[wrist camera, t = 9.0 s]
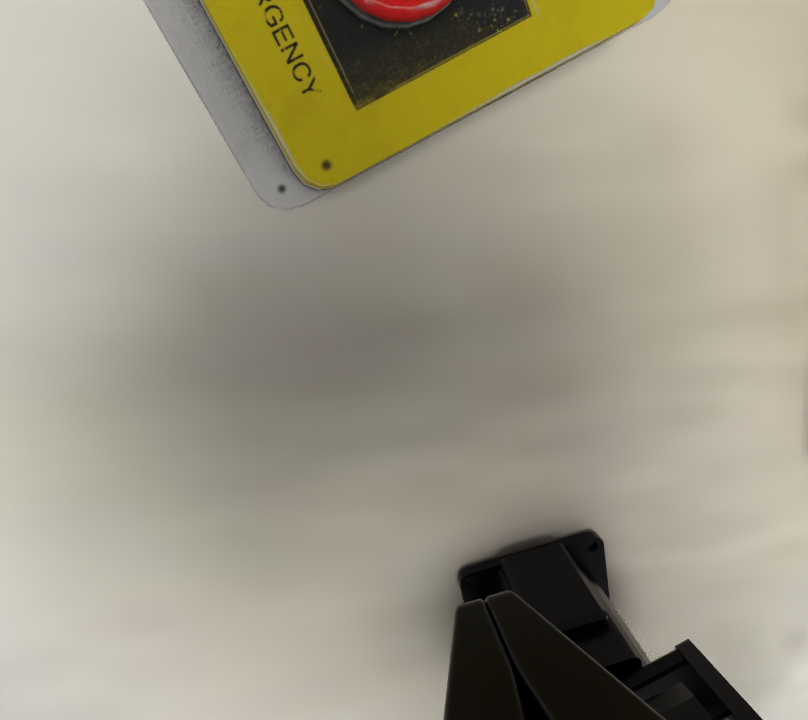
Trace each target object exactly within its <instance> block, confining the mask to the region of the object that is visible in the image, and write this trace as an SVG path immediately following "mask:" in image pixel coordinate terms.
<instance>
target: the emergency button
mask: <svg viewBox="0 0 808 720" xmlns="http://www.w3.org/2000/svg"><path fill="white" fill-rule="evenodd" d="M144 2H145V4H146V6H147V7H148V9H149V11H150V12H151V14H152V16H153V18H154V19H155V21H156V23H157V24H158V26H159V28H160V30H161V31H162V33H163V35H164V36H165V38H166V40H167V42H168V43H169V45H170V47H171V48H172V50H173V52H174V54H175V55H176V57H177V59H178V60H179V62H180V64H181V66H182V67H183V69H184V71H185V72H186V74H187V76H188V78H189V79H190V81H191V83H192V84H193V86H194V88H195V90H196V91H197V93H198V95H199V97H200V98H201V100H202V102H203V103H204V105H205V107H206V109H207V110H208V112H209V114H210V115H211V117H212V119H213V121H214V122H215V124H216V126H217V127H218V129H219V131H220V133H221V134H222V136H223V138H224V139H225V141H226V143H227V145H228V146H229V148H230V150H231V151H232V153H233V155H234V157H235V158H236V160H237V162H238V163H239V165H240V167H241V169H242V170H243V172H244V174H245V175H246V177H247V179H248V181H249V182H250V184H251V186H252V187H253V189H254V191H255V193H256V194H257V195H258V196H259V197H260V198H261V199H262V200H263V201H264V202H265V203H266V204H267V205H268V206H271V207H275V208H279V209H283V210H287V209H291V208H295V207H299V206H302V205H304V204H306V203H308V202H310V201H312V200H314V199H315V198H317V197H319V196H321V195H323V194H325V193H327V192H328V191H330V190H332V189H334V188H336V187H338V186H339V185H341V184H343V183H345V182H347V181H349V180H351V179H352V178H354V177H356V176H358V175H360V174H362V173H364V172H365V171H367V170H369V169H371V168H373V167H375V166H377V165H378V164H380V163H382V162H384V161H386V160H388V159H390V158H391V157H393V156H395V155H397V154H399V153H401V152H403V151H404V150H406V149H408V148H410V147H412V146H414V145H416V144H417V143H419V142H421V141H423V140H425V139H427V138H428V137H430V136H432V135H434V134H436V133H438V132H440V131H441V130H443V129H445V128H447V127H449V126H451V125H453V124H454V123H456V122H458V121H460V120H462V119H464V118H466V117H467V116H469V115H471V114H473V113H475V112H477V111H479V110H480V109H482V108H484V107H486V106H488V105H490V104H492V103H493V102H495V101H497V100H499V99H501V98H503V97H505V96H506V95H508V94H510V93H512V92H514V91H516V90H518V89H519V88H521V87H523V86H525V85H527V84H529V83H530V82H532V81H534V80H536V79H538V78H540V77H542V76H543V75H545V74H547V73H549V72H551V71H553V70H555V69H556V68H558V67H560V66H562V65H564V64H566V63H568V62H569V61H571V60H573V59H575V58H577V57H579V56H581V55H582V54H584V53H586V52H588V51H590V50H592V49H594V48H595V47H597V46H599V45H601V44H603V43H605V42H607V41H608V40H610V39H612V38H614V37H616V36H618V35H620V34H621V33H623V32H625V31H627V30H629V29H631V28H632V27H634V26H636V25H638V24H640V23H642V22H644V21H645V20H647V19H649V18H651V17H653V16H655V15H656V14H657V13H658V12H659V11H660V10H662V9H663V8H664V7H665V6H666V5H667V4H668V3H669V2H670V0H144Z"/></svg>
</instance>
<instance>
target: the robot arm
mask: <svg viewBox="0 0 808 720" xmlns="http://www.w3.org/2000/svg"><path fill="white" fill-rule="evenodd" d="M592 542H593V543H592ZM590 543H592V544H591V545H589V544H590ZM588 545H589V546H588ZM469 578H473V579H472V580H470V581H467V580H468V579H469ZM458 582H459V587H460V591H461V595H462V600H463V604H460V605H458V606H457V607H456V610H455V618H454V627H453V636H452V646H451V655H450V664H449V673H448V683H447V692H446V701H445V711H444V720H762V718H761V717H760V716H759V715H758V714H757V713H756V712H755V711H754V710H753V709H752V707H751V706H750V705H749V704H748V703H747V702H746V701H745V700H744V699H743V698H742V697H741V696H740V694H739V693H738V692H737V691H736V690H735V689H734V688H733V687H732V686H731V685H730V684H729V682H728V681H727V680H726V679H725V678H724V677H723V676H722V675H721V674H720V673H719V672H718V670H717V669H716V668H715V667H714V666H713V665H712V664H711V663H710V662H709V661H708V660H707V659H706V657H705V656H704V655H703V654H702V653H701V652H700V651H699V650H698V649H697V648H696V647H695V645H694V644H693V643H692V642H691V641H690V640H689V639H687V640H685V641H684V642H682V643H680V644H678V645H676V646H675V648H676V649H675V650H673V651H671V652H669V653H667V654H666V655H664V656H662V657H660V658H658V659H656V660H654V661H653V662H651V661H650V660H649V658H648V657H647V655H646V654H645V652H644V651H643V649H642V648H641V646H640V645H639V643H638V642H637V640H636V639H635V637H634V636H633V634H632V633H631V631H630V630H629V628H628V627H627V625H626V624H625V623H624V621H623V620H622V618H621V617H620V615H619V614H618V612H617V611H616V609H615V608H614V606H613V605H612V603H611V602H610V599H609V590H608V580H607V571H606V561H605V551H604V543H603V540H602V539H601V538H600V537H599V535H598V534H597V533H596V532H592V531H591V532H586V533H582V534H579V535H575V536H572V537H569V538H565V539H562V540H558V541H555V542H551V543H548V544H545V545H541V546H538V547H534V548H531V549H528V550H524V551H521V552H517V553H514V554H510V555H507V556H504V557H500V558H497V559H493V560H490V561H486V562H483V563H480V564H476V565H473V566H469V567H466V568H464V569H462V570H461V571H460V572H459V574H458Z"/></svg>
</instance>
